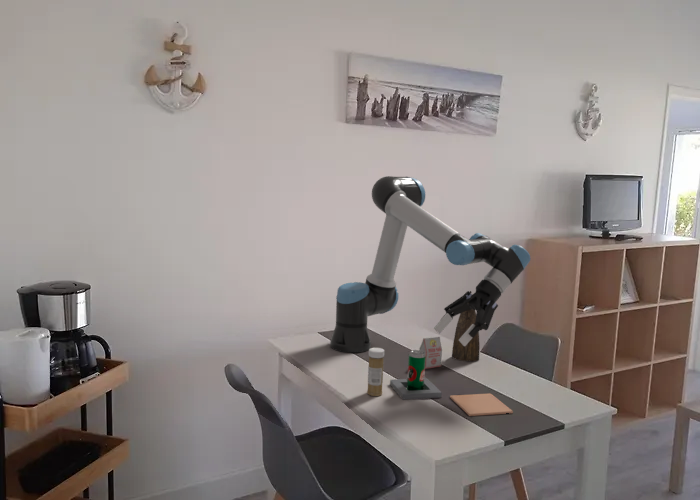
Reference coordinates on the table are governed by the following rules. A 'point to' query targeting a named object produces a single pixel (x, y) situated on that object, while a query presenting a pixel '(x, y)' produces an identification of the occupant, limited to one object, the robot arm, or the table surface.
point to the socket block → (429, 391)
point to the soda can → (416, 370)
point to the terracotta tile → (480, 404)
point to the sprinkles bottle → (375, 371)
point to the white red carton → (432, 352)
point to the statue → (472, 348)
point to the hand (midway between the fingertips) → (448, 337)
